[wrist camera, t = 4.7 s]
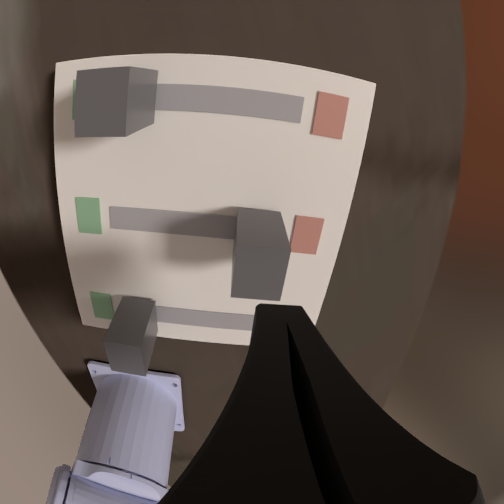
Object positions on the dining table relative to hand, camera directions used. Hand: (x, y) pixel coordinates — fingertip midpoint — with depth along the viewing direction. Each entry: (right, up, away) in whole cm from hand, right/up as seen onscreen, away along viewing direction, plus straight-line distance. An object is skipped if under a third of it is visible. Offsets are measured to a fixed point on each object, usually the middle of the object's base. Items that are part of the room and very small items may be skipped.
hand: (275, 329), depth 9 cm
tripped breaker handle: (0, +3, +6) cm, 7 cm away
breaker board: (-4, +5, +7) cm, 9 cm away
